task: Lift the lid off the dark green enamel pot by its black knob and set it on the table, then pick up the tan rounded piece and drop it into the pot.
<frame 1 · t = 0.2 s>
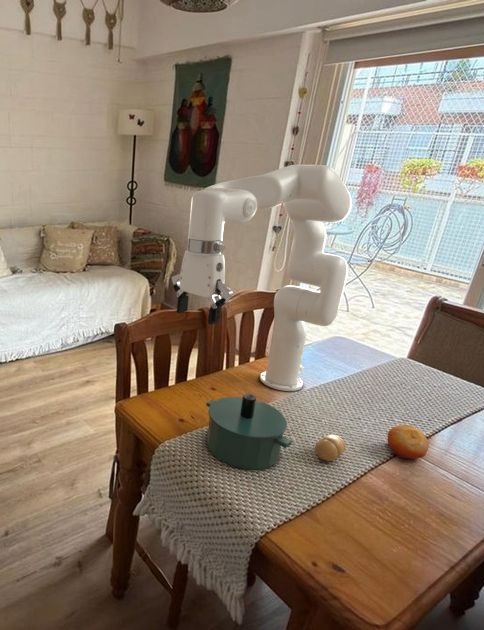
hand: (197, 317, 105), 31 cm above the table, tool pointing down, fingers open, 9 cm apart
lid: (246, 417, 105), point 8 cm above the table, touching pot
tan rounded piece: (328, 456, 105), on the table
pot: (242, 447, 108), on the table
fruit: (402, 454, 106), on the table
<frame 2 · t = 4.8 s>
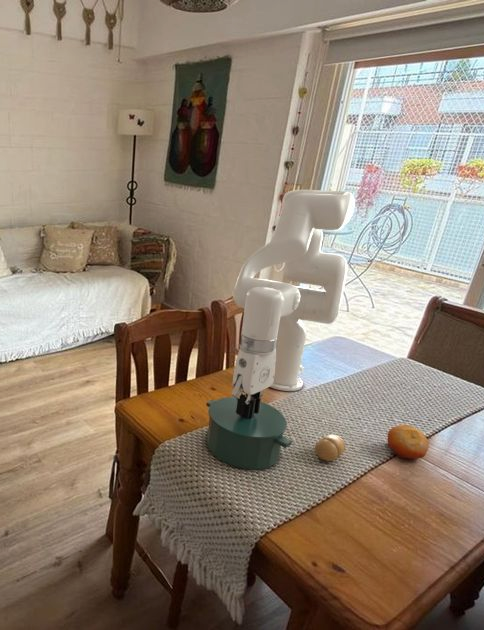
hand: (247, 412, 105), 10 cm above the table, tool pointing down, fingers closed on lid, 3 cm apart
lid: (246, 417, 105), point 9 cm above the table, touching gripper, pot
everything else where it was.
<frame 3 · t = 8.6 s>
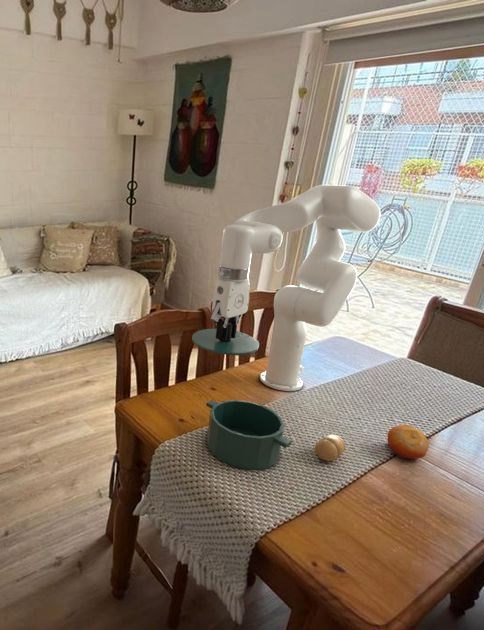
hand: (225, 337, 120), 21 cm above the table, tool pointing down, fingers closed on lid, 3 cm apart
lid: (224, 342, 121), point 20 cm above the table, touching gripper
everything else where it was.
when the fingers open (2 cm above the table, at t = 12.9 s): lid stays where it is, point 1 cm above the table.
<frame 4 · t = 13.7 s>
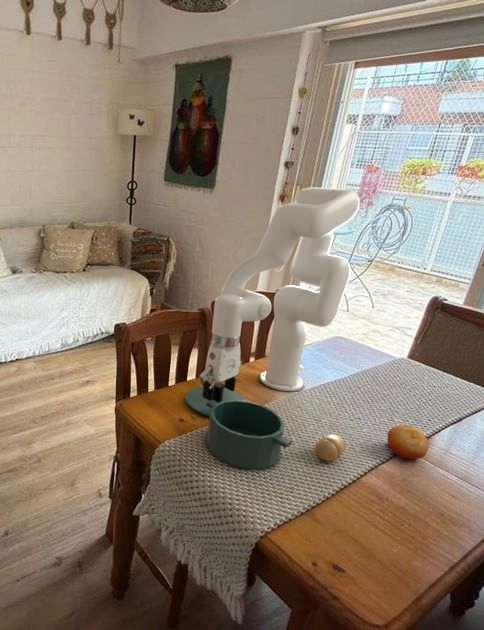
hand: (218, 394, 126), 3 cm above the table, tool pointing down, fingers open, 9 cm apart
lid: (216, 402, 127), point 1 cm above the table
everything else where it was.
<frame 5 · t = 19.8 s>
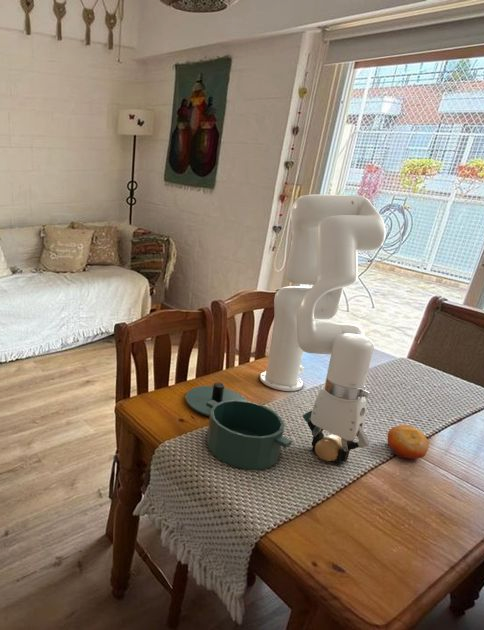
hand: (328, 454, 105), 0 cm above the table, tool pointing down, fingers closed on tan rounded piece, 5 cm apart
tan rounded piece: (328, 456, 105), on the table, touching gripper
everything else where it was.
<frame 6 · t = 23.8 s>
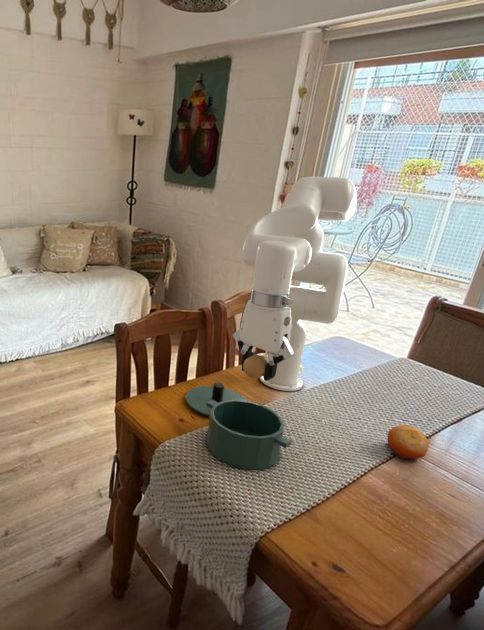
hand: (257, 373, 101), 20 cm above the table, tool pointing down, fingers closed on tan rounded piece, 5 cm apart
tan rounded piece: (257, 375, 101), point 20 cm above the table, touching gripper
everything else where it was.
when the fingers open (4 cm above the table, at t = 28.0 s): tan rounded piece drops 3 cm, resting on pot.
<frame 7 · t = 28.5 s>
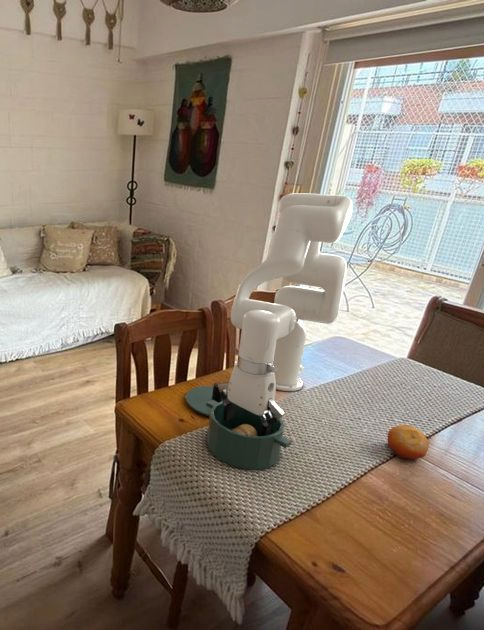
hand: (245, 427, 106), 6 cm above the table, tool pointing down, fingers open, 9 cm apart
tan rounded piece: (242, 445, 108), point 1 cm above the table, tilted 7°, touching pot
everything else where it was.
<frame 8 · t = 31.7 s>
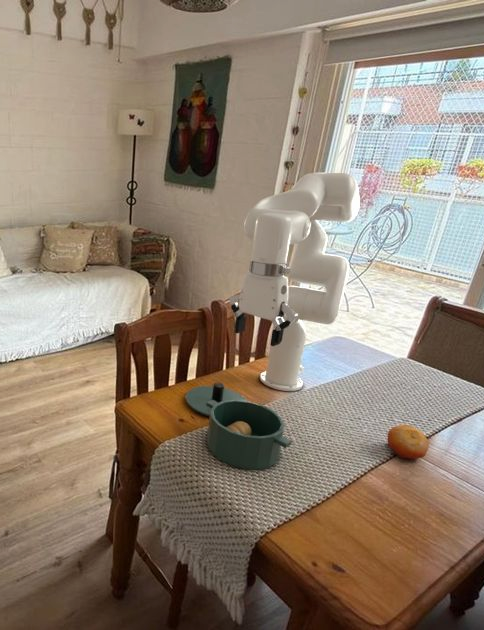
hand: (256, 338, 106), 26 cm above the table, tool pointing down, fingers open, 9 cm apart
tan rounded piece: (242, 443, 107), point 1 cm above the table, tilted 43°, touching pot
everything else where it was.
at the end: lid inside the target area (0.2 cm from its centre), point 0.6 cm above the table; tan rounded piece inside the target area in the pot (0.2 cm from its centre), point 1.2 cm above the pot's base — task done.
